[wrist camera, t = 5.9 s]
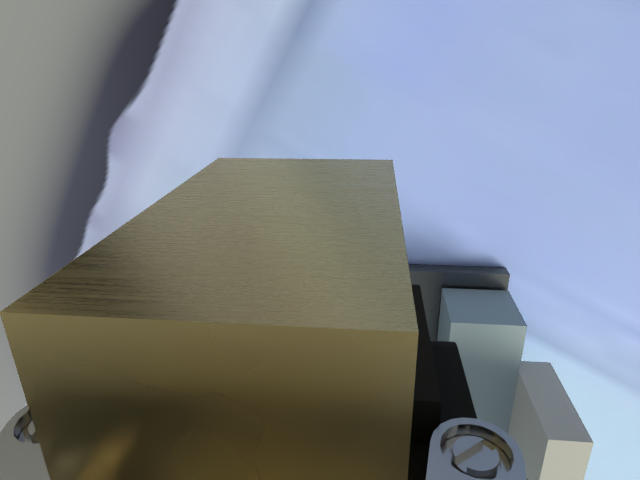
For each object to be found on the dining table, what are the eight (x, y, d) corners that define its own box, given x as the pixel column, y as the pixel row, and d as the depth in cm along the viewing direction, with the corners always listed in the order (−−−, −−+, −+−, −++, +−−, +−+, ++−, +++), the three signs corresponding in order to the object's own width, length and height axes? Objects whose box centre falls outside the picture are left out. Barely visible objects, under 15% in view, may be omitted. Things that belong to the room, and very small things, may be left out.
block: (380, 436, 14) (384, 784, 7) (243, 426, 14) (132, 748, 8) (392, 160, 11) (419, 331, 4) (219, 158, 11) (-2, 312, 5)
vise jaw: (514, 441, 34) (558, 570, 25) (427, 435, 34) (444, 559, 26) (542, 292, 29) (607, 390, 21) (441, 288, 30) (466, 382, 22)
